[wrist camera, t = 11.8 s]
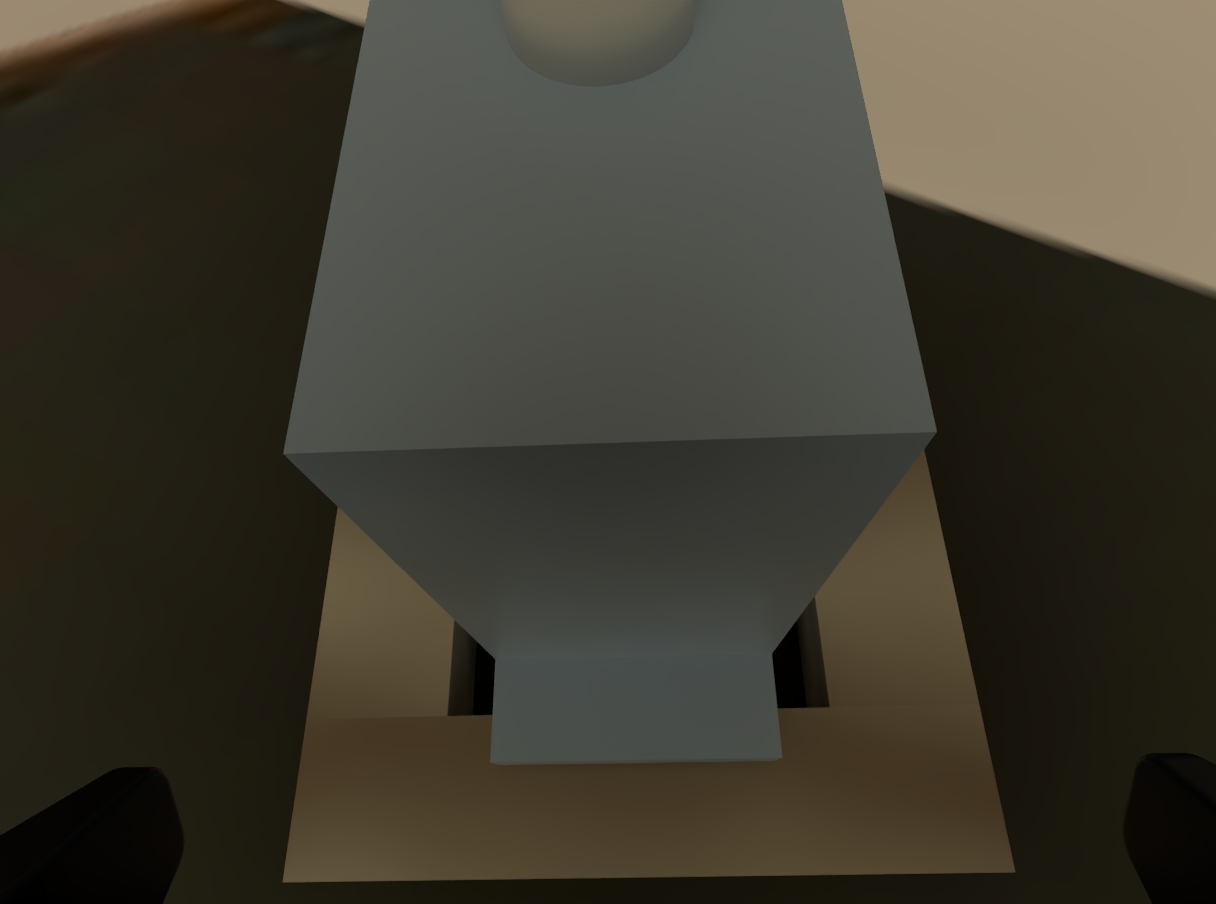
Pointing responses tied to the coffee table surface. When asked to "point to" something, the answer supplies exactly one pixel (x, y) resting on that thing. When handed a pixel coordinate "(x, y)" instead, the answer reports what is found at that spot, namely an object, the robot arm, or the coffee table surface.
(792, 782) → the plate
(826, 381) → the servo
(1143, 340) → the coffee table surface
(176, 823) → the robot arm
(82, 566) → the coffee table surface
